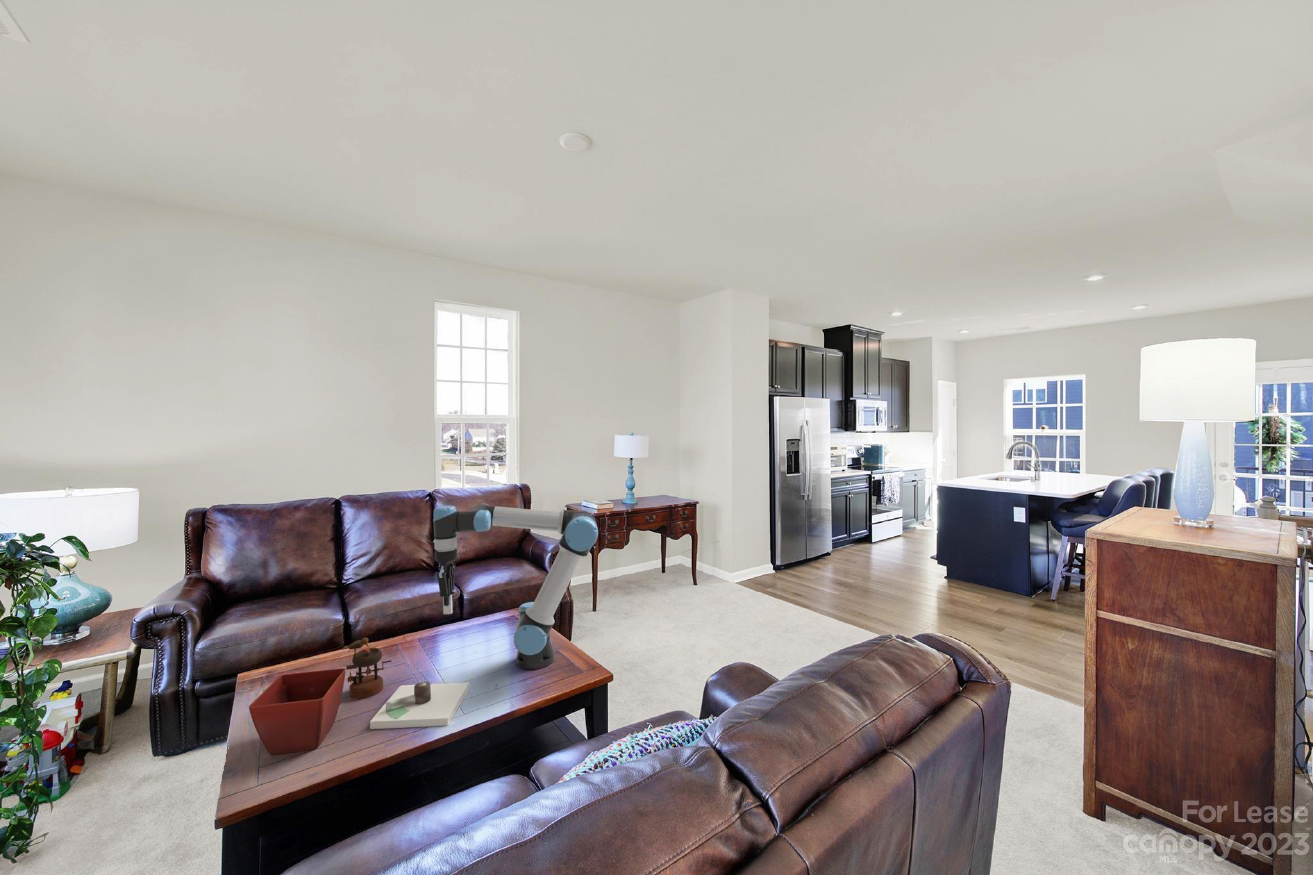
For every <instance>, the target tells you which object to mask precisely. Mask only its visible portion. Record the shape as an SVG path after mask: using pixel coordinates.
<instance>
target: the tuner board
mask: <svg viewBox="0 0 1313 875" xmlns="http://www.w3.org/2000/svg"><path fill="white" fill-rule="evenodd" d="M415 685H416V684H406V685H404V684H402V685H400V686H399V687H397V689H396V690H395V691H394V693H393V694H392V695H391V696H390V697H389V698H388V700H386V702H390V701H394V700H397V699H400V698H404V697H407V696H410V695H414V686H415ZM430 688H431V699H430V701H428V702H427V703H424V704H416V703H412V704H409V705H406V706H403V707H399V708H396V709H393V710H390V711H386V702H385V703H384V704H383V706H382V707H381V708H380V709H379V710H378V711H377V713H375V715H374V716H373V717H372V718H371V720H370V721H369V729H370V730H378V729H379V730H380V729H381V730H383V729H400V728H402V729H403V728H420V727H421V728H425V727H440V726H441V727H443V726H449V724H450V723H451V721H452V720H453V718H454V716H455V714H457V711H458V710H459V708H460V706H461V704H462V702H463V701H464V699H465V697H466V695H467V694H468V692H469V690H470V682H451V683H450V682H449V683H430Z"/></svg>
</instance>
